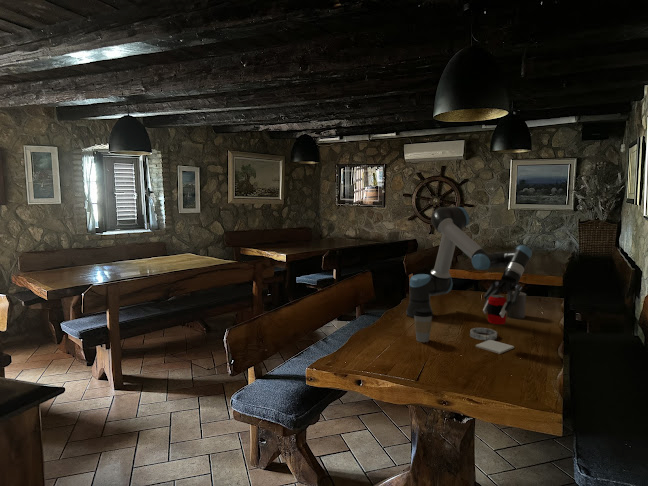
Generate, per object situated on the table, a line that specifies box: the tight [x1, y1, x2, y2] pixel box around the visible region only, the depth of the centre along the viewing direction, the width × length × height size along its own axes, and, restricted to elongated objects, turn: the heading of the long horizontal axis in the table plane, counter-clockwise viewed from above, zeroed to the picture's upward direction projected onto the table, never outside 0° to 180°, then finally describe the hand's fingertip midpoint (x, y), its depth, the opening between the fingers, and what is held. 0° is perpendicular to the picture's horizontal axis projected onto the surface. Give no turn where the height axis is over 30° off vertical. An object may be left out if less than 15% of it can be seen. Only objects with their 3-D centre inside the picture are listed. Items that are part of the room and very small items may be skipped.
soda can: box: [487, 294, 507, 325], centre depth 195 cm, size 8×8×12 cm
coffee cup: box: [413, 308, 434, 344], centre depth 207 cm, size 9×9×15 cm
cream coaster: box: [475, 340, 515, 355], centre depth 198 cm, size 12×12×1 cm
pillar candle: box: [506, 290, 527, 320], centre depth 247 cm, size 10×10×15 cm
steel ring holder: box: [469, 327, 498, 341], centre depth 213 cm, size 12×12×2 cm
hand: (492, 314), depth 193 cm, fingers closed on soda can, 7 cm apart
